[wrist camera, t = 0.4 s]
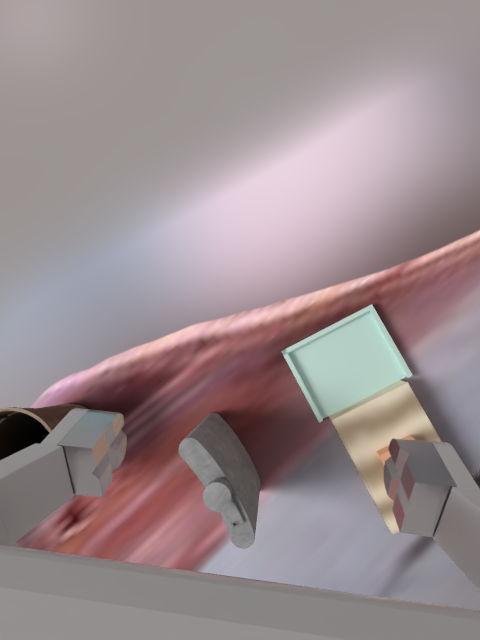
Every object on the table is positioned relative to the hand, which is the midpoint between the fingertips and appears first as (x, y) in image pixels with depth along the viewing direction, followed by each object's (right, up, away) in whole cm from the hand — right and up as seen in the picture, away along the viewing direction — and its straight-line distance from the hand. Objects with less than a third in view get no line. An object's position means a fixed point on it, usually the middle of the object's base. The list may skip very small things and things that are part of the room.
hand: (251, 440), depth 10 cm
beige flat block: (+26, -19, +49) cm, 58 cm away
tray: (+18, -4, +51) cm, 54 cm away
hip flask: (-1, -20, +52) cm, 56 cm away
